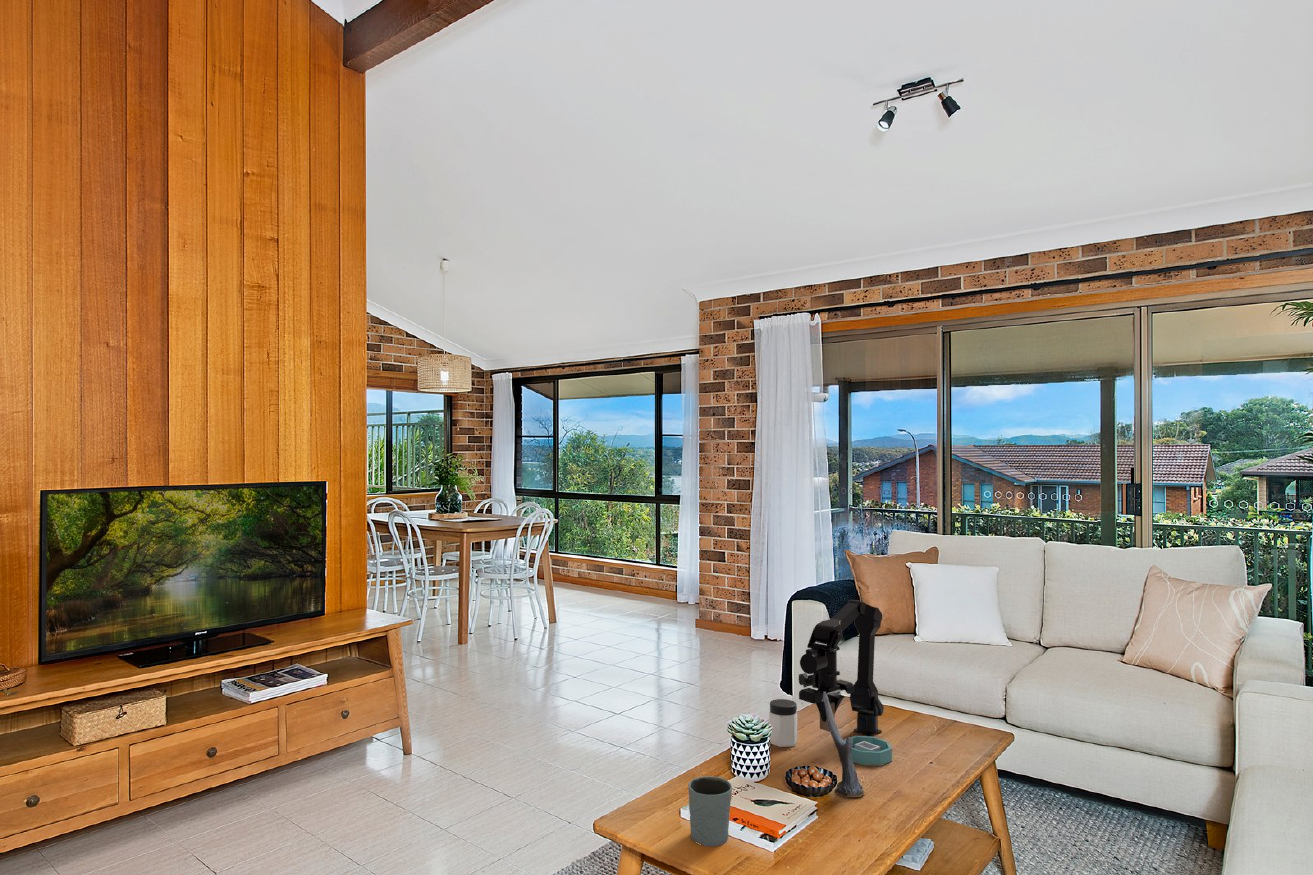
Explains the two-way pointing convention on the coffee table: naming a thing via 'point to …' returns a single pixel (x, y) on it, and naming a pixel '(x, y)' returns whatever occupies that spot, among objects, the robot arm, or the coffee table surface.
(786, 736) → the jar
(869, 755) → the dish
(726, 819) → the grey cup
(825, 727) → the brown wooden block
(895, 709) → the coffee table surface
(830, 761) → the coffee table surface
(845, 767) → the antler
